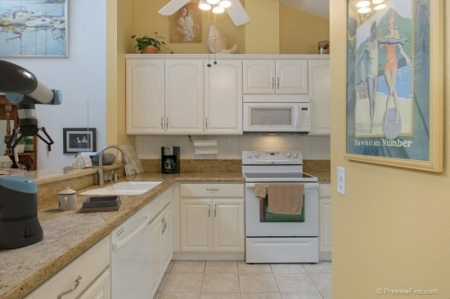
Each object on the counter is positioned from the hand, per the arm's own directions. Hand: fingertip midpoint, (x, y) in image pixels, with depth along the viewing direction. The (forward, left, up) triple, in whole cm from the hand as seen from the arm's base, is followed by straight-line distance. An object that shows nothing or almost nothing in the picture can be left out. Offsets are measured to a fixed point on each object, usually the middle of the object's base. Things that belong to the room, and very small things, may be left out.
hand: (33, 159), depth 145 cm
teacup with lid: (+4, -14, -28) cm, 31 cm away
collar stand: (+2, -32, -27) cm, 42 cm away
